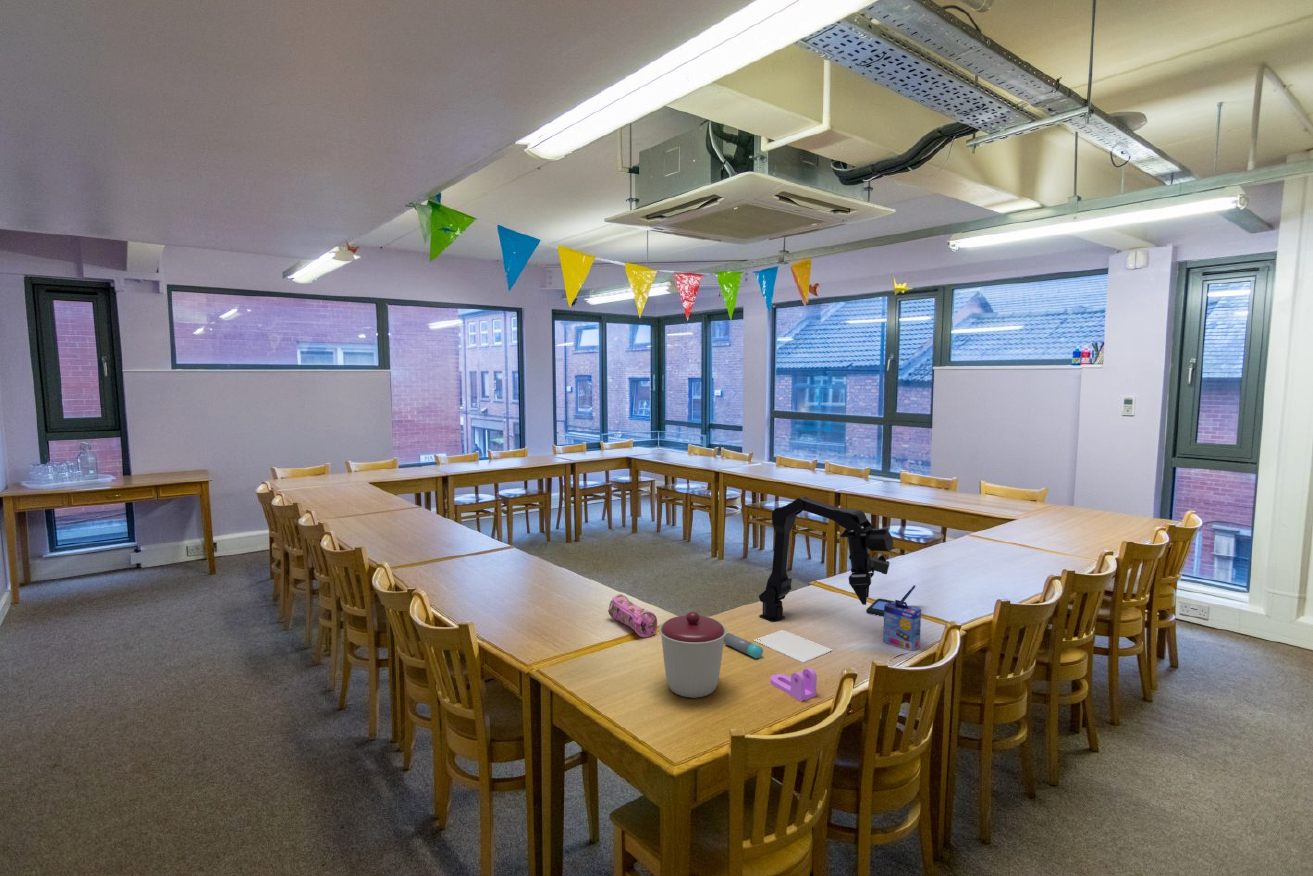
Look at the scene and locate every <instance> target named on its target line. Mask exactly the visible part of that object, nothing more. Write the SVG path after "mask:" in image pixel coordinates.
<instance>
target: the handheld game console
mask: <svg viewBox="0 0 1313 876" xmlns="http://www.w3.org/2000/svg"><path fill="white" fill-rule="evenodd" d="M914 589H916V585H913V586H912V587H911V588H910V589H909V590H908V591H907V593H906V594H904V596H903V597H902V599H901V600H900V601H903V602H906V600H907V599H908V598H909V596H910V595H911V593H912V592H913V591H914ZM890 602H895V600H891V599H885V598H877V599H876V600H875V601H874V602H873V603H872V604H870V606H869V607H867V608H866V610H865V611H866V613H867V614H869V615H873V614H875V615H874V616H877V615H879V616H878V617H882V616H883V618H884V606H885V605H886V604H888V603H890ZM898 603H900V602H898ZM900 604H903V603H900ZM903 605H904V604H903Z"/></svg>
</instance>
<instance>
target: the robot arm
mask: <svg viewBox="0 0 1313 876" xmlns="http://www.w3.org/2000/svg"><path fill="white" fill-rule="evenodd" d="M802 512H807V513H810V514H813V515H815V516H819V517H822V518H824V519H825V518H826V519H828V520H831V521H833V522H835V523H836V524H837V525H838V526H840V527H842V528H843V529H844V530H843V532H841V534H840V536H839V537H840V538H846V539H847V544H848V552H849V555H848V559H849V560H850V567H851V568H850V575H849V576H848V584H849V586H850V587H851V588H852V590H853V591H854V593H855V594H856V596H857V598H858V599H859V601H860V603H861V604H862V606H867V601H868V600H867V599H868V598H869V596H870V595H869V593H870V586H871V585H872V577H873V576H875V575H874V574H875V572H877V573H878V572H879V573H881V574H883V575H887V574H888V571H889V568H890V562H889V561H888V560H887V559H886V556H885V555H883V554H882V555H879V556H878V557H872V555H871V553H870V552H891V551H892V550H893V547H894V539H893V537H892V535H891V534H892V533H890V532H889V528H887V527H883V528H876V527H875V526H874V525H873V524H872V523H871V521H870V520H869V519H868V518H867V515H866V513H865V512H864V511H863V510H860V509H857V508H856V509H855V508H846V507H845V508H844V507H837V506H834V505H832V504H827V503H825V502H821V501H818V500H815V499H812V498H809V497H808V496H801V497H798V498H796V499H795V500H793V501H791V502H789V503H788V504H786V505H784V506H783V505H782V506H780V507H776V508H774V510H772V512H771V525H772V526H773V527H772V528H773V529H774V532H775V533H774V542H773V543H774V545H773V555H772V556H773V557H772V567H771V568H772V569H771V573H770V575H769V576H768V579H767V580H766V581H767V582H766V585H765V590H764V591H762V593H760V594H758V598H759V601H760V602H761V603H762V611H761V614H759V616H758V617H760V618H761V619H764V620H767V621H769V622H771V623H772V622H777V621H780V620H783V619H785V618H786V616H785V615H783V614H784V611H783V610H784V606H783V601H782V600H785V598H786V595H788V594H789V593H790V591H791V590H792V581H793V580H792V579H793V578H791V577H789V576H788V574H787V569H788V568H787V566H788V558H789V557H788V554H789V547H790V545H789V544H790V543H789V542H790V534H791V531H792V529H793V527H794V525H795V521H796V519H797V515H798V516H799V514H801V513H802Z"/></svg>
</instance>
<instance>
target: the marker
mask: <svg viewBox="0 0 1313 876" xmlns="http://www.w3.org/2000/svg"><path fill="white" fill-rule="evenodd" d="M723 644H725V645H727V646H728V647H730V648H733V649H735V650H736V651H739V652H742V653H744V654H746V655H748V656H749V657H750V656H751V657H752V658H755V659H757V658H759V659H761V657H763V654H764V649H763V647H762V646H760V645H758V644H755V643H753V642H751V641H748V640H746V639H744V638H742V637H740V636H737V635H735V634H733V633H730V632H727V634H726V636H725V637H724V643H723ZM757 660H758V659H757Z"/></svg>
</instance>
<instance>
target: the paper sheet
mask: <svg viewBox="0 0 1313 876" xmlns="http://www.w3.org/2000/svg"><path fill="white" fill-rule="evenodd" d="M757 639H758V640H757ZM759 639H760V640H761V641H760V640H759ZM805 639H806V640H805ZM753 640H754V641H756V642H755V643H757V642H758V643H757V644H759V643H761V644H763V645H765V646H764V647H766V646H767V647H766V648H768V647H769V648H768V649H770V648H771V649H770V650H772V649H773V651H774V652H777V651H779V652H781V653H783V654H782V655H784V654H785V655H784V656H786V655H787V657H788V656H789V657H788V658H791V659H793V660H795V661H798V662H800V663H803V664H804V663H807V662H809V661H812V660H815V659H816V657H817V658H820V657H821V655H822V656H824V655H826V653H827V654H828V652H829V653H831V652H833V651H834V650H833V649H832V648H829V647H828V646H824V645H822V644H819V643H817V642H814V641H812V640H809V639H807V638H804V637H802V636H799V635H798V634H795V633H792V632H790V631H787V630H785V629H781V630H777V631H776V632H772V633H769V634H767V635H764V636H761V637H758V638H755V639H753ZM754 641H753V642H754ZM761 644H760V645H761ZM763 645H762V646H763ZM830 651H831V652H830ZM779 652H778V653H779ZM781 653H780V654H781Z"/></svg>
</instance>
